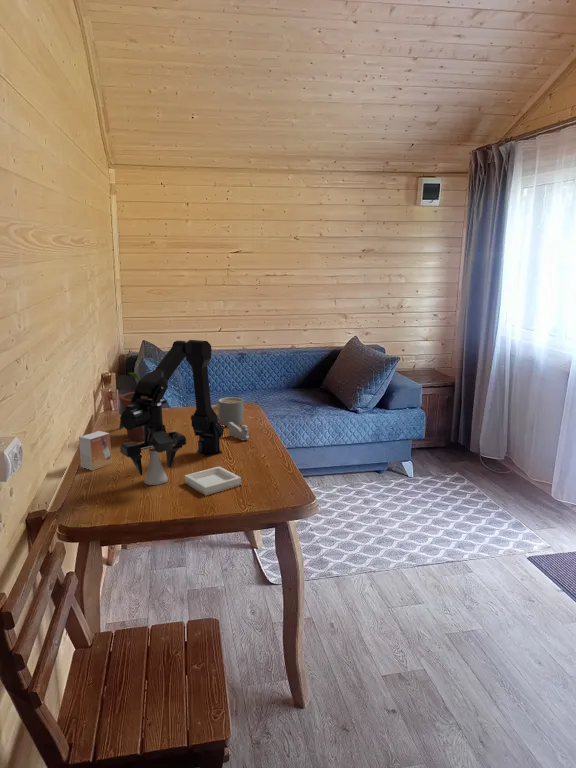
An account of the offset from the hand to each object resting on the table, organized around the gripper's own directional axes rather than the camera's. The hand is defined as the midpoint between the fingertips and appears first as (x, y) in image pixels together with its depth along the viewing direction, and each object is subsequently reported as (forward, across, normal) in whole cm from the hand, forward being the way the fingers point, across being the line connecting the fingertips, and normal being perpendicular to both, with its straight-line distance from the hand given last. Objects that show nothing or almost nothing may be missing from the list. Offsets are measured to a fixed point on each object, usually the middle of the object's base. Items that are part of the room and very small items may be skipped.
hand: (155, 471), depth 167 cm
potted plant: (+3, +17, +46) cm, 49 cm away
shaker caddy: (+3, +12, -13) cm, 18 cm away
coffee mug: (+3, +50, +38) cm, 63 cm away
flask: (+3, 0, 0) cm, 3 cm away
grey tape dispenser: (+3, +43, +19) cm, 47 cm away
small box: (+3, -9, +24) cm, 26 cm away
